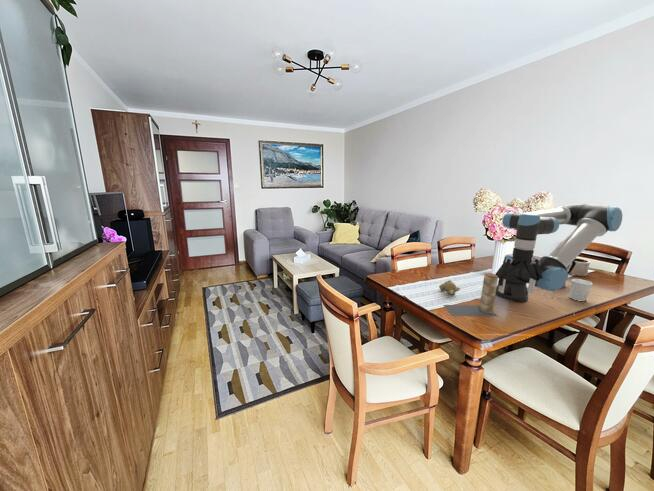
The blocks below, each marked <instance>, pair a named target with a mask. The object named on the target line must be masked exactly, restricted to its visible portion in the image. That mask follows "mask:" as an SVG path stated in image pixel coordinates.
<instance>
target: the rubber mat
mask: <svg viewBox="0 0 654 491" xmlns="http://www.w3.org/2000/svg"><path fill="white" fill-rule="evenodd" d="M443 307H444V308H445V309H446V310H447V311H448V313H450V315H451V316H452V317H499V315H498V314H497V313H495V312H494V311H492V313H484V312H482V311H481V310H480V309H479V307H480V304H475V305H474V304H473V305H472V304H468V305H466V304H464V305H463V304H443Z"/></svg>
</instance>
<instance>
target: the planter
mask: <svg viewBox="0 0 654 491" xmlns="http://www.w3.org/2000/svg"><path fill="white" fill-rule="evenodd" d="M574 261H575V262H576V265H575V266H574V268H573V270H572V271H571V273H569V274H568V275H571V274H574V275H573V276H575V275H578V276H577V277H587V275H588V273H589V269H590V264H591V261H590V260H588V259H584V258H578V257H576V258H575V259H574ZM571 265H572V263H571V264H570V266H569V268H568V271H569V269H570V267H571Z"/></svg>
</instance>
